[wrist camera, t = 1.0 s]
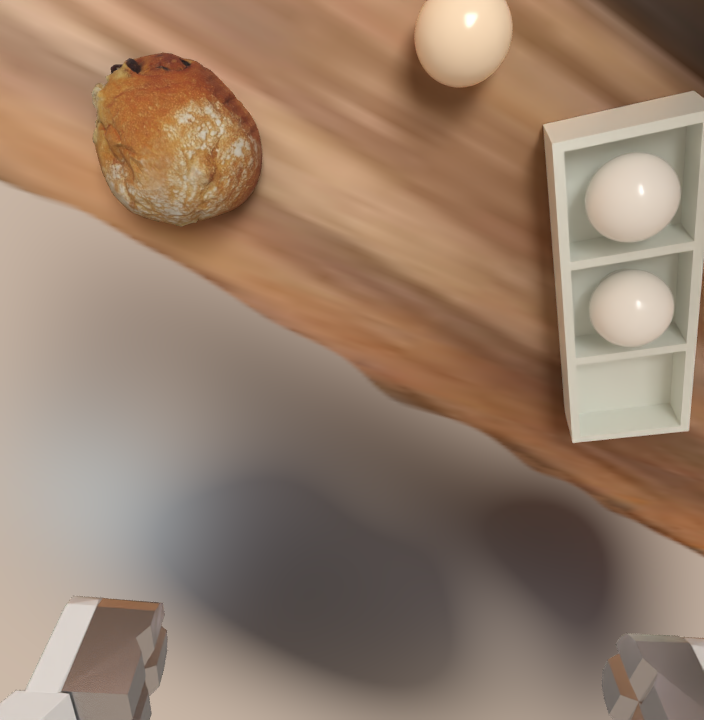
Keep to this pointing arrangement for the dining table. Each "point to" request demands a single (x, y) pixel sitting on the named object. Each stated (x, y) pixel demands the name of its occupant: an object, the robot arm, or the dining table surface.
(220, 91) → the bread roll
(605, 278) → the white egg
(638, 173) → the white egg
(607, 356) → the egg carton
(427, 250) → the dining table surface
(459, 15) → the tan egg
